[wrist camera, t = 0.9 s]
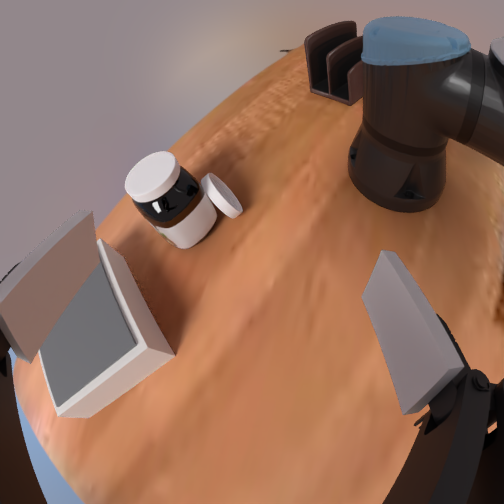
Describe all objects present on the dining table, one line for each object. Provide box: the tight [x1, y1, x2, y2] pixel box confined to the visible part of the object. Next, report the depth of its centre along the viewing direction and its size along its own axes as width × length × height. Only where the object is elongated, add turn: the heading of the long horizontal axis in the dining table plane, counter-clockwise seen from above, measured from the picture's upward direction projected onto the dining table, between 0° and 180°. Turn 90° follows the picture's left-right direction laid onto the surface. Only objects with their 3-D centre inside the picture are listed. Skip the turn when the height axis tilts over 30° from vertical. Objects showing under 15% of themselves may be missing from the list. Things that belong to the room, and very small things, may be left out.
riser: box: [38, 238, 175, 418], centre depth 31 cm, size 18×18×6 cm
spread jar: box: [125, 151, 243, 249], centre depth 34 cm, size 12×11×12 cm
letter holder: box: [304, 21, 363, 106], centre depth 42 cm, size 10×20×14 cm, turn 134°
